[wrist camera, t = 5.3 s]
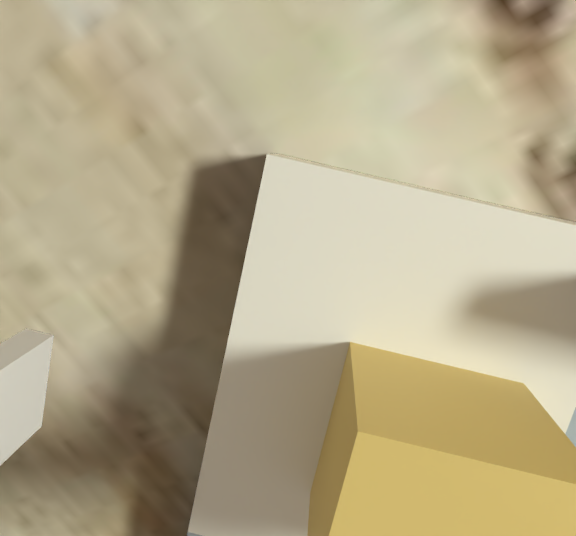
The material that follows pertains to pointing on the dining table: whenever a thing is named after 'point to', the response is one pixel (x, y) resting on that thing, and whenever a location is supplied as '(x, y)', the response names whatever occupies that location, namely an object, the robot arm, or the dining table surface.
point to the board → (371, 322)
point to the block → (439, 455)
